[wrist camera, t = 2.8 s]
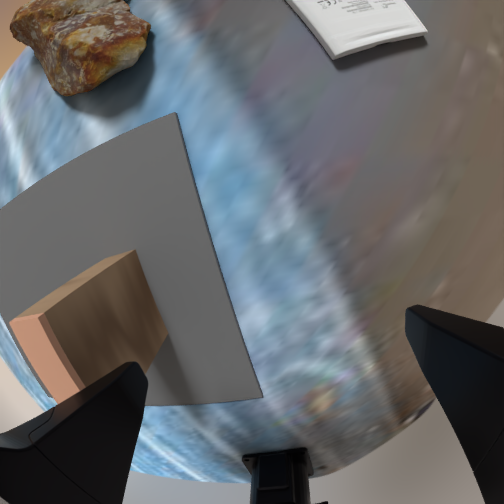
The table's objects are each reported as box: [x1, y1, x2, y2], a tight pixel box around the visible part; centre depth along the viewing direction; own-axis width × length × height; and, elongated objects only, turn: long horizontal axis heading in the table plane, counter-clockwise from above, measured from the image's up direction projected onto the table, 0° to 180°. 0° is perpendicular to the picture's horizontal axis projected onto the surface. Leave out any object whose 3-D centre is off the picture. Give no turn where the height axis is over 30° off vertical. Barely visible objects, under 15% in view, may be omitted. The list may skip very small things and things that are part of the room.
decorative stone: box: [10, 0, 151, 96], centre depth 10 cm, size 10×4×15 cm
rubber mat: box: [0, 112, 262, 406], centre depth 18 cm, size 20×25×1 cm
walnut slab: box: [9, 249, 168, 404], centre depth 12 cm, size 6×2×9 cm, turn 15°
